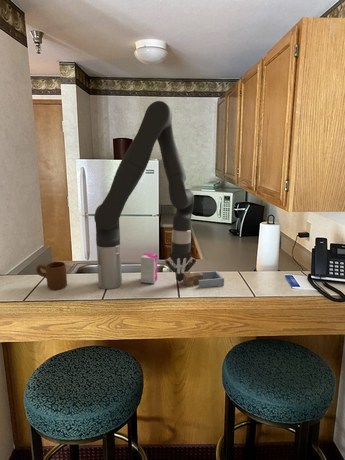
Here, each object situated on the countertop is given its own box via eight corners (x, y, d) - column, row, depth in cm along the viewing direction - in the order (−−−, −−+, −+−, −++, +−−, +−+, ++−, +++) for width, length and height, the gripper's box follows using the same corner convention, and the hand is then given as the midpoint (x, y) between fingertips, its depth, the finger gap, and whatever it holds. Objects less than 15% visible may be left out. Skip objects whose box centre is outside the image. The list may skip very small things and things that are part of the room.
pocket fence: (199, 287, 132) (199, 280, 131) (193, 279, 140) (193, 272, 140) (223, 285, 134) (224, 278, 133) (216, 277, 142) (216, 270, 142)
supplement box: (154, 284, 135) (154, 258, 132) (140, 283, 136) (139, 257, 133) (157, 279, 140) (157, 253, 137) (144, 278, 141) (143, 252, 139)
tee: (186, 286, 133) (186, 277, 132) (182, 281, 138) (182, 272, 137) (204, 285, 134) (204, 276, 133) (200, 279, 139) (200, 271, 138)
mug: (33, 289, 130) (30, 267, 128) (42, 281, 138) (40, 260, 135) (62, 291, 129) (60, 268, 127) (70, 283, 136) (68, 261, 134)
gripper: (166, 243, 125) (165, 285, 130) (200, 242, 128) (197, 283, 132) (163, 238, 132) (162, 278, 137) (194, 237, 135) (193, 276, 139)
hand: (179, 281), depth 134 cm, fingers closed
